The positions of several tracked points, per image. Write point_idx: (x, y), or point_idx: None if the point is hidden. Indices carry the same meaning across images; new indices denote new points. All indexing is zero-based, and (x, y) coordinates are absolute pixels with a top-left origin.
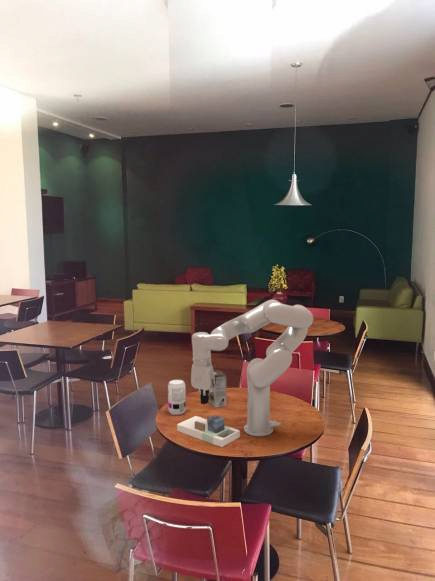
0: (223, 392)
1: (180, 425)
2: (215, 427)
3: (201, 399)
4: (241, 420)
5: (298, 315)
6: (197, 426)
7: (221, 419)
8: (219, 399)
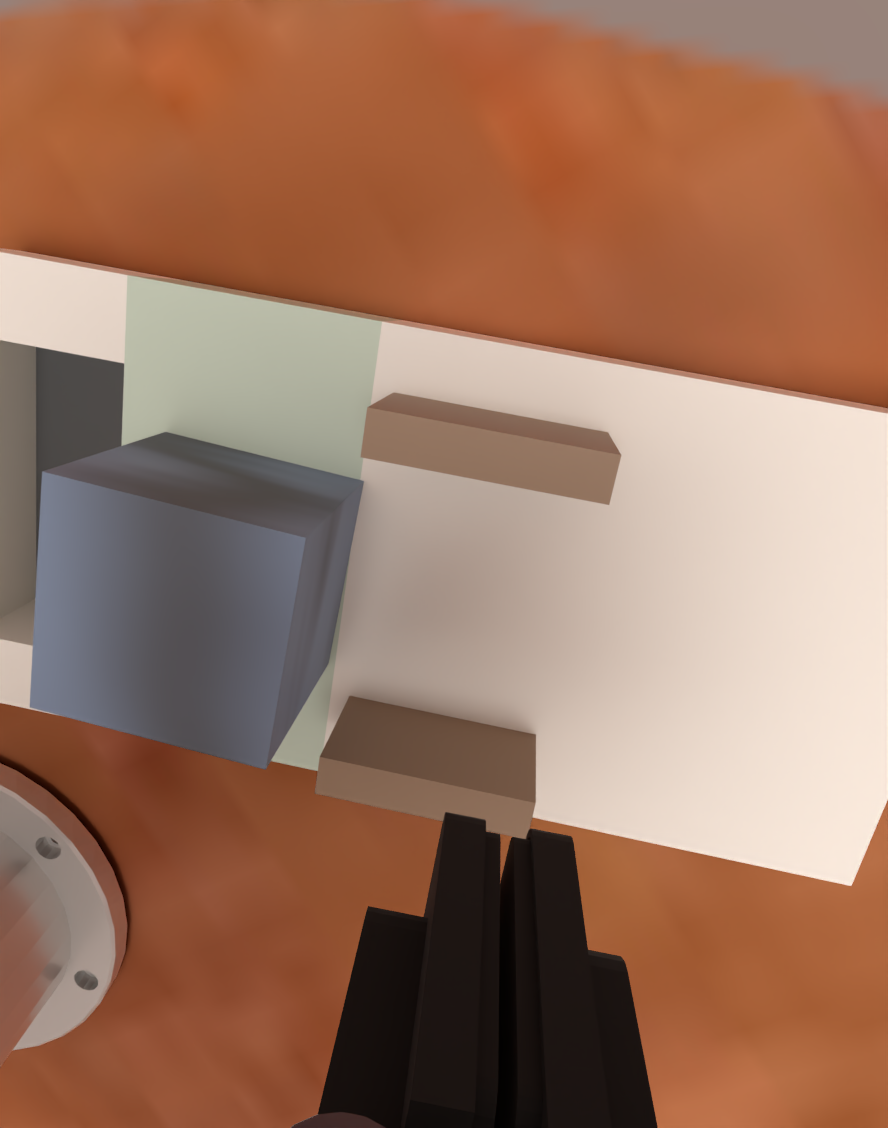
0: None
1: None
2: (136, 454)
3: (540, 950)
4: (285, 1054)
5: None
6: (537, 426)
7: (38, 633)
8: None
